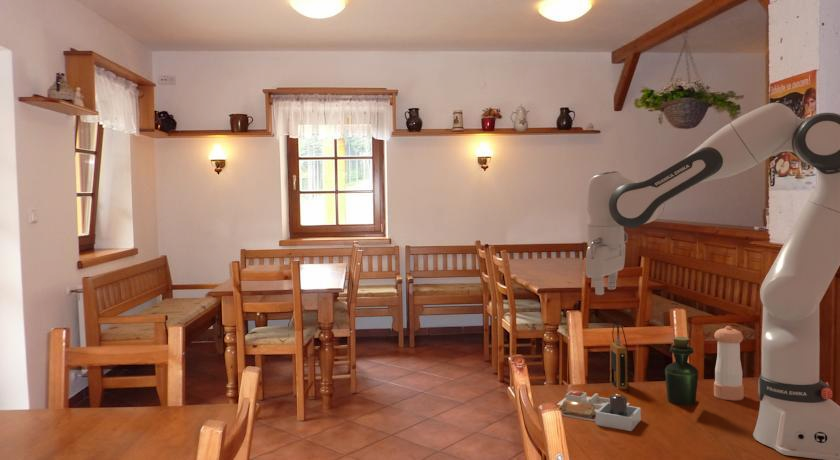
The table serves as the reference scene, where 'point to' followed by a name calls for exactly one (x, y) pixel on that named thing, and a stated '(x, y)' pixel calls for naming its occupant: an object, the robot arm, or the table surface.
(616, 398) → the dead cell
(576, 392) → the button
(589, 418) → the trough
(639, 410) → the grey square open box
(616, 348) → the multimeter
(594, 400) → the battery tester
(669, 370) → the potion bottle
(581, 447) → the table surface
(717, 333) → the pepper shaker
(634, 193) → the robot arm
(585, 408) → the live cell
